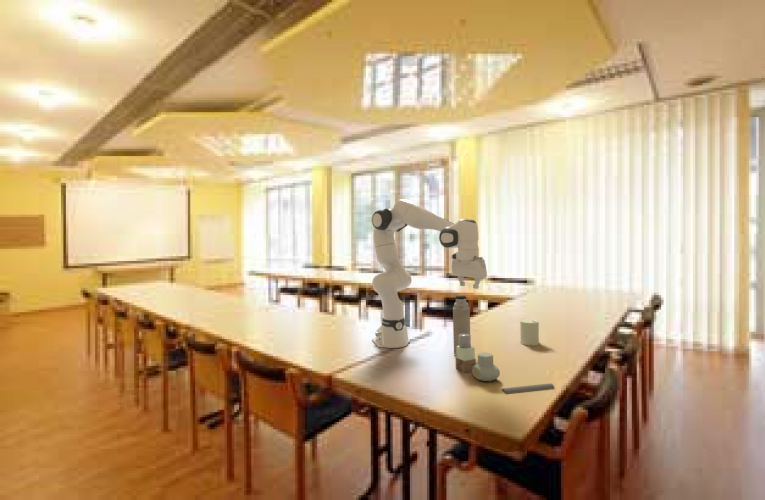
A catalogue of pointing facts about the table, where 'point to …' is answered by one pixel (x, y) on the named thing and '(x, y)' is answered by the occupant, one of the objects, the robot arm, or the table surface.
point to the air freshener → (485, 368)
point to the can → (529, 331)
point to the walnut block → (465, 365)
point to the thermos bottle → (460, 319)
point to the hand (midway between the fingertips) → (469, 287)
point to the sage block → (465, 353)
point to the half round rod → (528, 388)
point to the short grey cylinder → (464, 340)
